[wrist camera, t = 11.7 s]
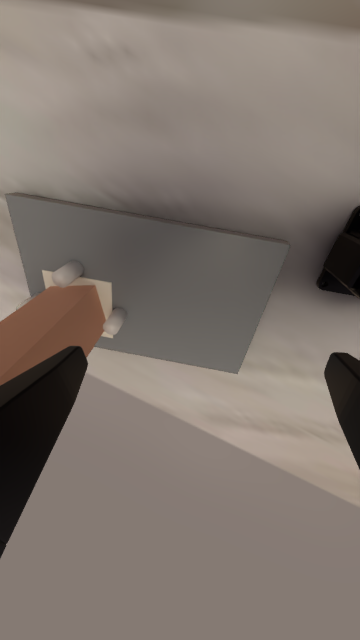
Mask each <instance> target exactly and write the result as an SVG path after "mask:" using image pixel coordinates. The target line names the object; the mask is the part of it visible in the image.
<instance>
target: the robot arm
mask: <svg viewBox="0 0 360 640" xmlns="http://www.w3.org/2000/svg"><path fill="white" fill-rule="evenodd" d="M324 267H325V268H324V269H323V271H322V273H321V275H320V277H319V279H318V281H317V286H318V287H319V288H320V289H321V290H326V291H331V292H337V293H342V294H348V295H353V296H356V297H358V298H359V299H360V206H359V207H357V208H356V209H355V211H354V212H353V214H352V216H351V218H350V220H349V222H348V224H347V226H346V228H345V229H344V231H343V233H342V234H340V235H339V237H338V239H337V241H336V243H335V244H334V246H333V248H332V250H331V252H330V254H329V256H328V258H327V260H326V262H325V264H324ZM323 282H326V284H325V285H322V283H323ZM87 366H88V362H87V359H86V356H85V354H84V351H83V349H82V347H81V346H69V347H67V348H65V349H63V350H61V351H60V352H58V353H56V354H54V355H53V356H51V357H49V358H47V359H46V360H44V361H42V362H40V363H39V364H37V365H35V366H34V367H32V368H30V369H28V370H27V371H25V372H23V373H21V374H20V375H18V376H16V377H14V378H13V379H11V380H9V381H7V382H6V383H4V384H2V385H0V558H1V556H2V554H3V551H4V549H5V547H6V544H7V542H8V541H9V538H10V537H11V534H12V532H13V530H14V528H15V526H16V524H17V522H18V520H19V518H20V516H21V513H22V511H23V509H24V507H25V505H26V503H27V501H28V499H29V497H30V495H31V493H32V490H33V488H34V486H35V484H36V482H37V480H38V478H39V476H40V474H41V472H42V470H43V467H44V466H45V463H46V461H47V459H48V457H49V455H50V453H51V451H52V449H53V447H54V445H55V443H56V440H57V438H58V436H59V434H60V432H61V430H62V428H63V426H64V424H65V422H66V420H67V418H68V415H69V413H70V411H71V409H72V407H73V405H74V402H75V400H76V397H77V394H78V392H79V389H80V386H81V383H82V381H83V378H84V375H85V372H86V370H87ZM324 375H325V379H326V383H327V386H328V389H329V392H330V396H331V399H332V402H333V405H334V409H335V412H336V415H337V418H338V420H339V423H340V425H341V428H342V430H343V432H344V435H345V437H346V439H347V442H348V444H349V446H350V448H351V451H352V453H353V455H354V458H355V460H356V462H357V465H358V467H359V469H360V361H359V360H358V359H356V358H354V357H353V356H351V355H349V354H348V353H339V352H334V353H332V354H331V355H330V357H329V360H328V362H327V365H326V368H325V371H324Z"/></svg>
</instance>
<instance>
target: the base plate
mask: <svg viewBox="0 0 360 640" xmlns="http://www.w3.org/2000/svg"><path fill="white" fill-rule="evenodd" d="M5 197H6V201H7V205H8V209H9V213H10V217H11V220H12V224H13V228H14V232H15V236H16V240H17V244H18V248H19V252H20V256H21V260H22V263H23V267H24V271H25V275H26V279H27V283H28V287H29V291H30V295H31V297H30V298H29V299H27V300H26V301H24V302H23V303H21V304H20V305H18V306H17V307H16V310H18V309H19V308H21V307H22V306H23V305H25V304H26V303H28V302H29V301H30V300H32V299H33V298H35V297H36V296H37V295H39V294H40V293H42V292H43V291H44V290H46V289H47V288H49V287H50V286H59V287H62V288H65V287H67V286H82V285H95V286H96V289H97V292H98V296H99V299H100V302H101V306H102V309H103V312H104V315H105V319H106V321H105V323H104V324H103V330H104V332H103V334H102V335H101V337H100V338H99V340H98V341H97V343H96V344H95V346H94V347H98V348H104V349H109V350H114V351H119V352H125V353H130V354H135V355H140V356H146V357H151V358H156V359H161V360H166V361H172V362H177V363H182V364H187V365H193V366H198V367H203V368H208V369H214V370H219V371H224V372H229V373H234V374H238V372H239V369H240V367H241V365H242V362H243V360H244V357H245V355H246V353H247V350H248V348H249V345H250V343H251V340H252V338H253V336H254V333H255V331H256V328H257V326H258V323H259V321H260V319H261V316H262V314H263V311H264V309H265V307H266V304H267V302H268V299H269V297H270V294H271V292H272V290H273V287H274V285H275V282H276V280H277V278H278V275H279V273H280V270H281V268H282V265H283V263H284V261H285V258H286V256H287V253H288V251H289V249H290V246H291V245H290V244H289V243H288V242H287V241H284V240H278V239H272V238H267V237H261V236H256V235H250V234H244V233H239V232H233V231H228V230H222V229H216V228H211V227H205V226H200V225H194V224H188V223H183V222H177V221H172V220H166V219H160V218H155V217H149V216H144V215H138V214H132V213H127V212H121V211H116V210H110V209H104V208H99V207H93V206H88V205H82V204H76V203H71V202H65V201H60V200H54V199H48V198H43V197H37V196H32V195H26V194H20V193H9V194H5Z"/></svg>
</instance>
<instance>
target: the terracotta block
mask: <svg viewBox="0 0 360 640" xmlns="http://www.w3.org/2000/svg"><path fill="white" fill-rule="evenodd" d="M105 321H106V319H105V315H104V312H103V309H102V306H101V302H100V299H99V296H98V292H97V289H96V286H95V285H82V286H67V287H65V288H62V287H59V286H50V287H49V288H47V289H46V290H44V291H43V292H42V293H40V294H39V295H37V296H36V297H35V298H33V299H32V300H30V301H29V302H28V303H26V304H25V305H23V306H22V307H21V308H19V309H18V310H16V311H15V312H14V313H12V314H11V315H9V316H8V317H7V318H5V319H4V320H2V321H1V322H0V385H2V384H4V383H6V382H7V381H9V380H11V379H13V378H14V377H16V376H18V375H20V374H21V373H23V372H25V371H27V370H28V369H30V368H32V367H34V366H35V365H37V364H39V363H40V362H42V361H44V360H46V359H47V358H49V357H51V356H53V355H54V354H56V353H58V352H60V351H61V350H63V349H65V348H67V347H69V346H81V347H82V349H83V351H84V354H85V356H86V357H87V356H88V354H89V353H90V351H91V350H92V349H93V347H94V346H95V344H96V343H97V341H98V340H99V338H100V337H101V335H102V334H103V332H104V330H103V324H104V323H105Z"/></svg>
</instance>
